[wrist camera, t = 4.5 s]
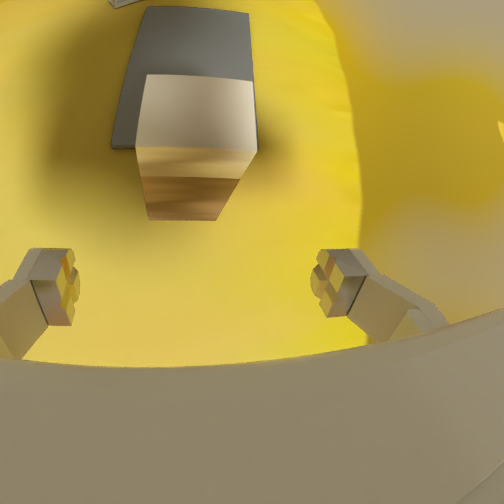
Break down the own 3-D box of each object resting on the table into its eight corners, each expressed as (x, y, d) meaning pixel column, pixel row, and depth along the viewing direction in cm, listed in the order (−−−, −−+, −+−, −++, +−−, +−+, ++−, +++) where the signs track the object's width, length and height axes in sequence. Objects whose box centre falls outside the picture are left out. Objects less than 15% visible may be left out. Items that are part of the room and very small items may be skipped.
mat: (111, 148, 21) (110, 145, 21) (147, 9, 24) (147, 6, 24) (256, 152, 24) (258, 149, 24) (247, 16, 28) (248, 13, 27)
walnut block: (149, 220, 21) (135, 146, 11) (151, 170, 22) (147, 74, 11) (215, 220, 23) (257, 151, 12) (215, 171, 23) (252, 81, 13)
